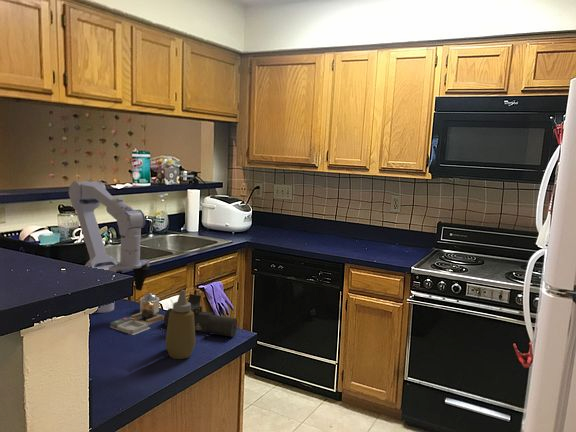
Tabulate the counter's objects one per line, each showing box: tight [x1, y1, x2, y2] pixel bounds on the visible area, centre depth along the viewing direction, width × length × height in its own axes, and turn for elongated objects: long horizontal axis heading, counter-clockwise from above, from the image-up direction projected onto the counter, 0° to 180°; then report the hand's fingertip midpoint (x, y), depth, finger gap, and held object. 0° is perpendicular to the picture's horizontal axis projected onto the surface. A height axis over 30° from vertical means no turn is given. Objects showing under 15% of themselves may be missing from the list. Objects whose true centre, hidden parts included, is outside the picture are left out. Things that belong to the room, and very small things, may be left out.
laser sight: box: [163, 293, 238, 338], centre depth 145 cm, size 10×22×10 cm, turn 78°
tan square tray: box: [129, 311, 165, 326], centre depth 150 cm, size 7×8×2 cm
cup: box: [139, 296, 160, 314], centre depth 158 cm, size 6×6×5 cm
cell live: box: [141, 301, 154, 322], centre depth 149 cm, size 4×4×6 cm
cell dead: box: [143, 292, 157, 301], centre depth 157 cm, size 4×4×6 cm
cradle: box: [109, 316, 151, 336], centre depth 142 cm, size 10×7×2 cm
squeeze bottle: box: [164, 289, 197, 360], centre depth 127 cm, size 8×8×18 cm
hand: (129, 292), depth 147 cm, fingers open, 7 cm apart
